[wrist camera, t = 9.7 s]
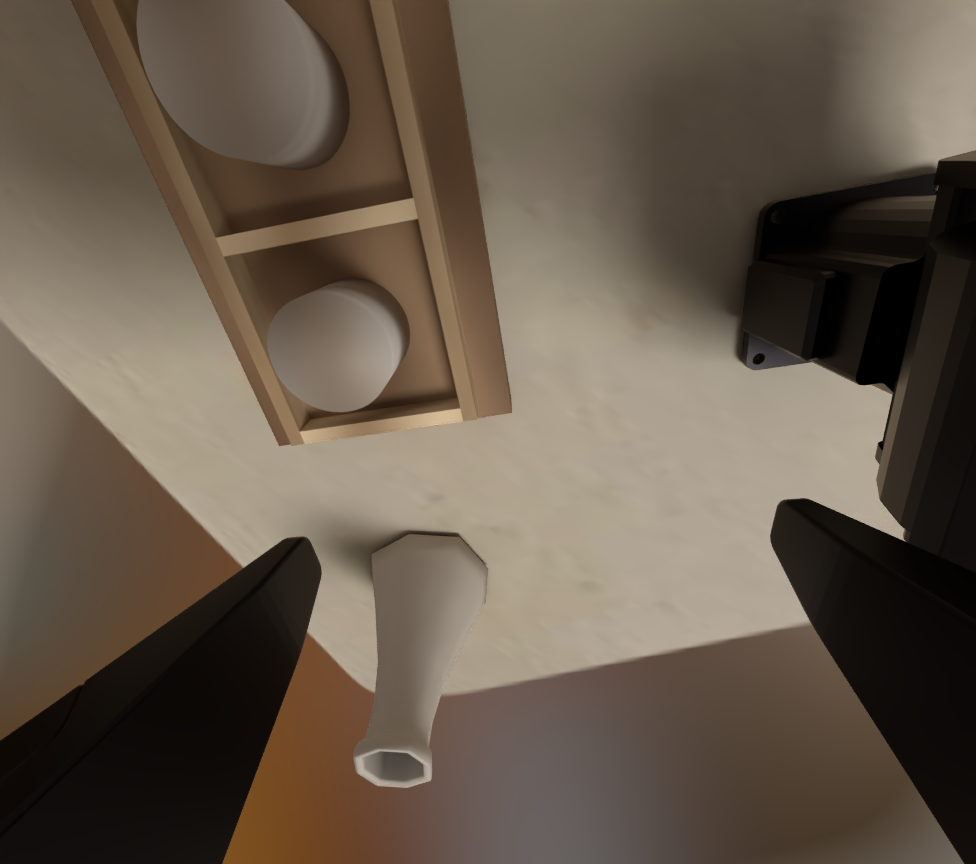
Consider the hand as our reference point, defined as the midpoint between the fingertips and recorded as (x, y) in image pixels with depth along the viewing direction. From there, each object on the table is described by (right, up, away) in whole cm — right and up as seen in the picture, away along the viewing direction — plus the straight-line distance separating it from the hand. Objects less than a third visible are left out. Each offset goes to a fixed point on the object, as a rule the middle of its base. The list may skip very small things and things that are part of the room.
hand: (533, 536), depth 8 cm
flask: (-4, -7, +17) cm, 19 cm away
